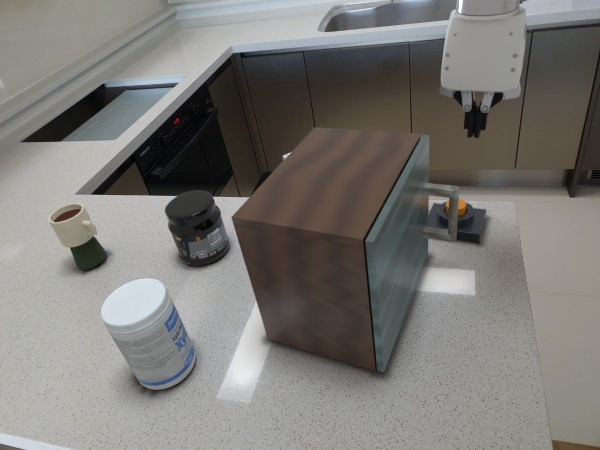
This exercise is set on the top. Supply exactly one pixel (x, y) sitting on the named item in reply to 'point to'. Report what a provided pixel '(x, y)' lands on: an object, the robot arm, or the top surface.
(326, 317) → the cupboard
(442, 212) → the switch block
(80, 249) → the character mug
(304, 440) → the top surface
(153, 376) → the supplement tub
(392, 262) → the cupboard door
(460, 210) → the button
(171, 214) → the supplement container
